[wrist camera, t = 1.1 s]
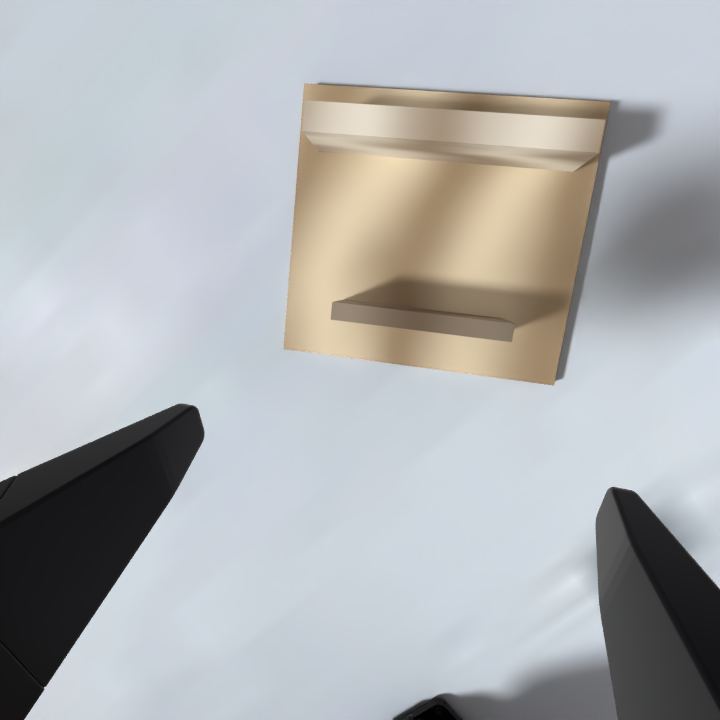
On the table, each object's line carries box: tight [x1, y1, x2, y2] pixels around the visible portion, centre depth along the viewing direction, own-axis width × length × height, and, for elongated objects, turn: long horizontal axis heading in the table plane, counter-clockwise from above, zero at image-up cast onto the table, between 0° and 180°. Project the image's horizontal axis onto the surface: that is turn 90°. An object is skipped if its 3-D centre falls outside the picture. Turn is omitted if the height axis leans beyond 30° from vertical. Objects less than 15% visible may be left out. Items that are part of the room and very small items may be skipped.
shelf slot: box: [284, 84, 611, 385], centre depth 20 cm, size 14×13×4 cm
